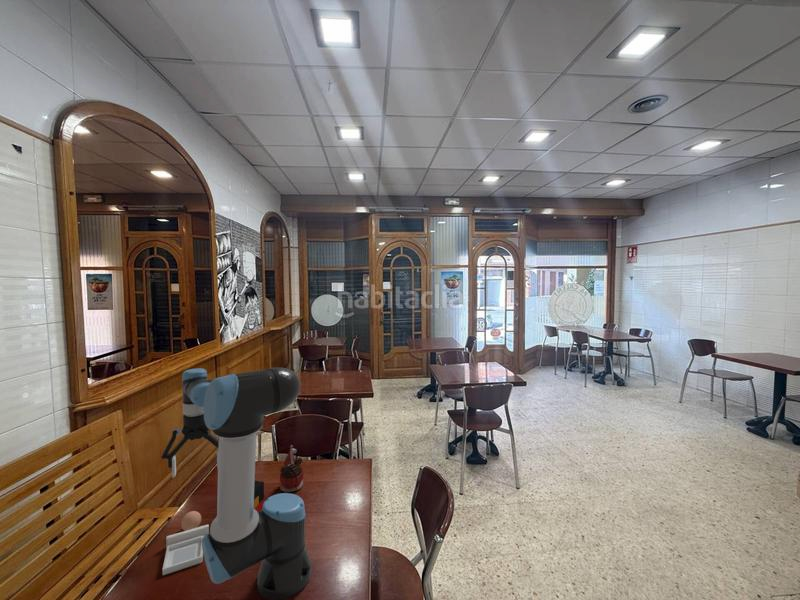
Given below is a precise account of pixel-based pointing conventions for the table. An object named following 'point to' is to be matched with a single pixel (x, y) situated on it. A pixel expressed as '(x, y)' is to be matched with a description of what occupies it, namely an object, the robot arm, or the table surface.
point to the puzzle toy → (258, 495)
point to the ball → (191, 520)
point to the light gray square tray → (183, 555)
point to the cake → (291, 473)
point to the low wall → (187, 535)
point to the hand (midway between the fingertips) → (196, 471)
